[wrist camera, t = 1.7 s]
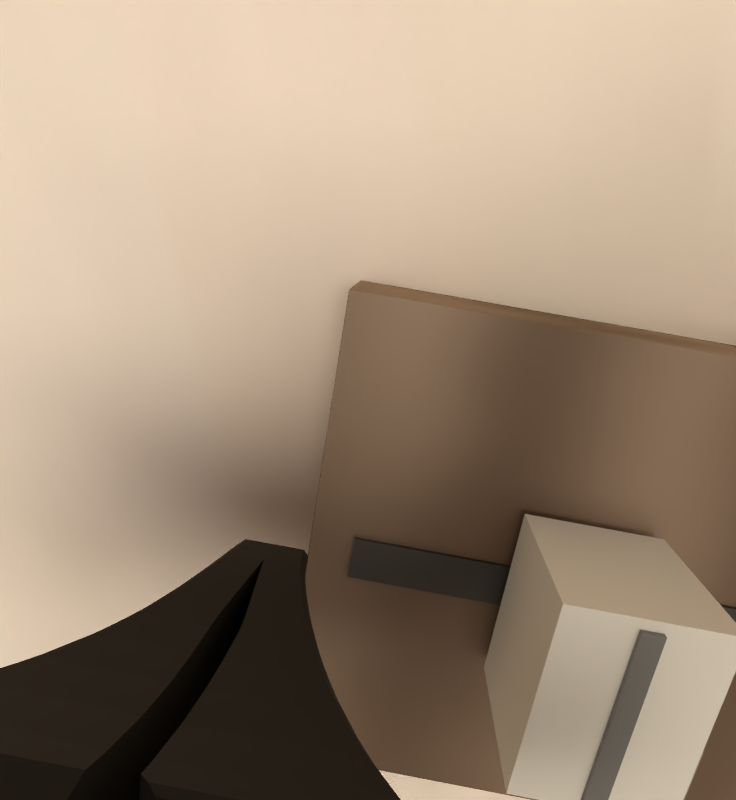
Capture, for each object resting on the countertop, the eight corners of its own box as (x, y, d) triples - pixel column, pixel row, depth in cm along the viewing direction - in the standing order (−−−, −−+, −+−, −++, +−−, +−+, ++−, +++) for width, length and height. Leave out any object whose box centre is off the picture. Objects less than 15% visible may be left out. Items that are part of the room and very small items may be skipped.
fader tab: (664, 539, 12) (753, 642, 9) (611, 690, 13) (674, 831, 10) (524, 513, 12) (564, 607, 9) (484, 666, 13) (507, 798, 10)
